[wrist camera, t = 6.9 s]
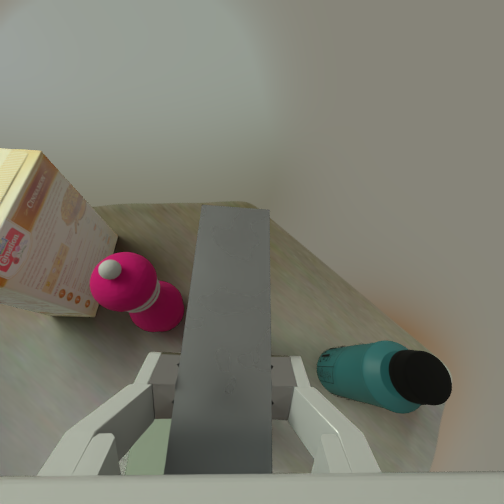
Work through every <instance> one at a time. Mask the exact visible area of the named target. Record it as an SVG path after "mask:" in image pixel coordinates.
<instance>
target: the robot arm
mask: <svg viewBox="0 0 504 504" xmlns="http://www.w3.org/2000/svg"><path fill="white" fill-rule="evenodd" d="M180 356H181V353H171V352H150V353H149V354H148V355H147V357H146V359H145V361H144V363H143V365H142V367H141V369H140V371H139V373H138V375H137V377H136V379H135V381H134V383H133V384H129V385H127V386H126V387H125V388H123V389H122V390H121V391H119V392H118V393H117V394H115V395H114V396H113V397H111V398H110V399H109V400H107V401H106V402H105V403H103V404H102V405H101V406H99V407H98V408H97V409H95V410H94V411H93V412H91V413H90V414H89V415H87V416H86V417H85V418H84V419H82V420H81V421H80V422H78V423H77V424H76V425H74V426H73V427H72V428H70V429H69V430H68V431H66V432H65V434H64V435H63V437H62V438H61V440H60V441H59V443H58V444H57V446H56V447H55V449H54V450H53V452H52V453H51V455H50V456H49V458H48V459H47V461H46V462H45V464H44V465H43V467H42V468H41V470H40V471H39V473H38V474H37V476H0V504H504V471H487V472H486V471H483V472H381V471H380V468H379V466H378V464H377V462H376V460H375V458H374V456H373V453H372V451H371V449H370V447H369V445H368V443H367V440H366V438H365V436H364V434H363V433H362V432H361V431H360V430H359V429H358V428H357V427H356V426H355V425H354V424H353V423H352V422H351V421H350V420H349V419H347V418H346V417H345V416H344V415H343V414H342V413H341V412H340V411H339V410H338V409H337V408H336V407H335V406H334V405H333V404H332V403H331V402H329V401H328V400H327V399H326V398H325V397H324V396H323V395H322V394H321V393H320V392H319V391H318V390H317V389H316V388H315V387H311V386H310V383H309V379H308V376H307V373H306V370H305V367H304V364H303V361H302V358H301V357H300V356H271V403H272V420H288V422H289V424H290V425H291V426H292V428H293V429H294V431H295V432H296V434H297V435H298V437H299V438H300V440H301V441H302V442H303V444H304V445H305V447H306V448H307V450H308V451H309V453H310V454H311V455H312V457H313V458H314V460H315V461H314V464H313V468H312V472H311V473H283V474H186V475H121V473H120V467H119V461H120V460H121V458H122V457H123V456H124V455H125V454H126V453H127V452H128V450H129V449H130V448H131V447H132V446H133V445H134V444H135V442H136V441H137V440H138V439H139V438H140V437H141V435H142V434H143V433H144V432H145V431H146V430H147V429H148V427H149V426H150V425H151V424H152V423H153V422H154V419H172V412H173V405H174V398H175V392H176V386H177V379H178V370H179V363H180Z"/></svg>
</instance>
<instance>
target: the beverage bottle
mask: <svg viewBox="0 0 504 504" xmlns="http://www.w3.org/2000/svg"><path fill="white" fill-rule="evenodd" d="M340 347H341V346H340ZM317 373H318V374H317V375H318V377H319V380H320V382H321V383H322V385H323V386H324V387H325V388H326V389H327V390H328V391H329V392H331V394H332V393H333V394H335V395H337V397H338V396H342V397H344V398H349V399H353V400H354V402H355V400H356V401H360V402H361V403H362V402H365V403H368V404H372V405H375V406H378V407H382V408H385V409H387V410H390V411H392V412H396V413H409V412H412V411H414V410H416V409H417V408H419V407H420V406H421V405H426V404H427V405H439V404H442V403H444V402H445V401H447V399H448V398H449V396H450V394H451V390H452V383H451V378H450V375H449V373H448V371H447V369H446V367H445V366H444V365H443V363H442V362H441V361H440V360H439V359H438V358H436V357H435V356H434V355H432V354H430V353H427V352H424V351H414V350H408V349H407V348H406V347H404V346H402V345H400V344H398V343H396V342H393V341H379V342H376V343H370V344H362V343H361V345H355V344H354V346H352V345H351V346H348V347H344V346H343V347H341V348H338V347H337V348H330V349H327V351H325V352H323V354H322V355H321V356H320V358H319V360H318V363H317ZM349 399H348V400H349ZM363 404H364V403H363Z"/></svg>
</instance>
